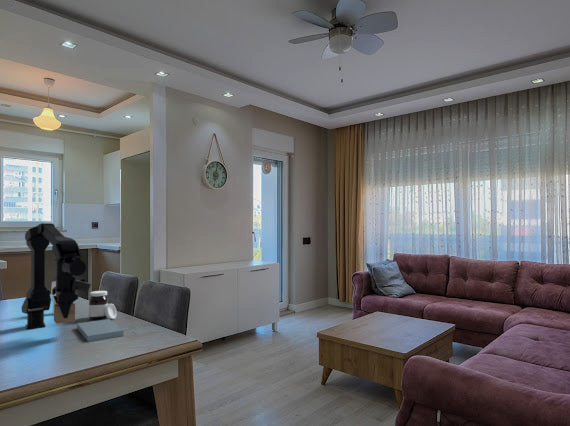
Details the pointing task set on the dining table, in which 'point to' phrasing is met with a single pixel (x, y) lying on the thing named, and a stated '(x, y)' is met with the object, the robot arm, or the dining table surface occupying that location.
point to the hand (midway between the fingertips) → (64, 316)
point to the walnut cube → (59, 317)
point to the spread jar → (101, 306)
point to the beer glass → (53, 295)
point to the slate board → (99, 330)
